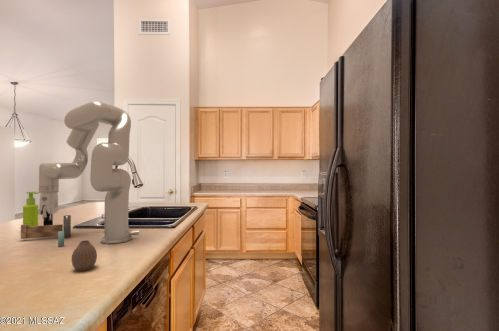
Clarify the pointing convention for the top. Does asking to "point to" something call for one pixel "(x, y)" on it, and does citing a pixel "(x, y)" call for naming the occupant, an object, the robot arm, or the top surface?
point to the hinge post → (67, 226)
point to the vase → (84, 256)
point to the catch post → (60, 238)
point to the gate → (40, 231)
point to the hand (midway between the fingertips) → (48, 228)
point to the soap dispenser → (30, 211)
